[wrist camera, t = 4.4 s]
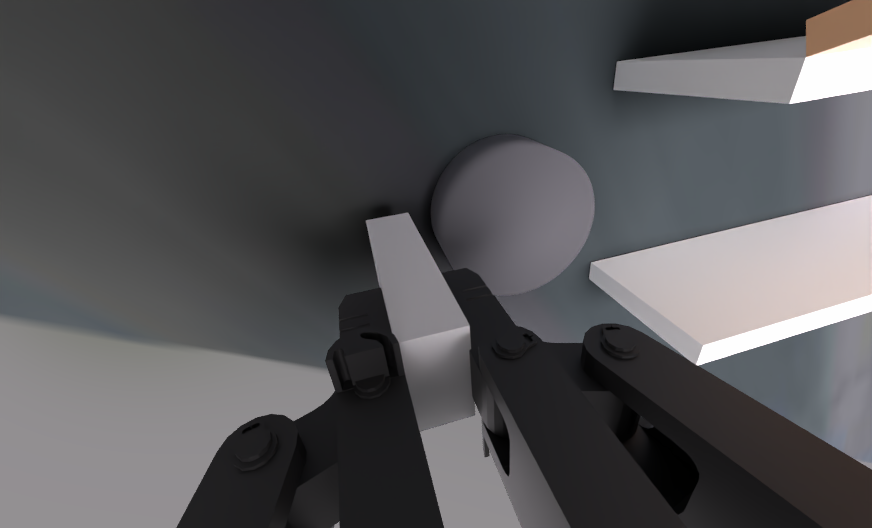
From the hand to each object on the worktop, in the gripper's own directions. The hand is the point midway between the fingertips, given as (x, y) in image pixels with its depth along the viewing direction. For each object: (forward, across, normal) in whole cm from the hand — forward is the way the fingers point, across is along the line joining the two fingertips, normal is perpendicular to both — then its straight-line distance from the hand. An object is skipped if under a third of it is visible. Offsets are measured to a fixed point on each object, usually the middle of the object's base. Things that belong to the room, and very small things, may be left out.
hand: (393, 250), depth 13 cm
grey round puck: (+2, +5, 0) cm, 5 cm away
